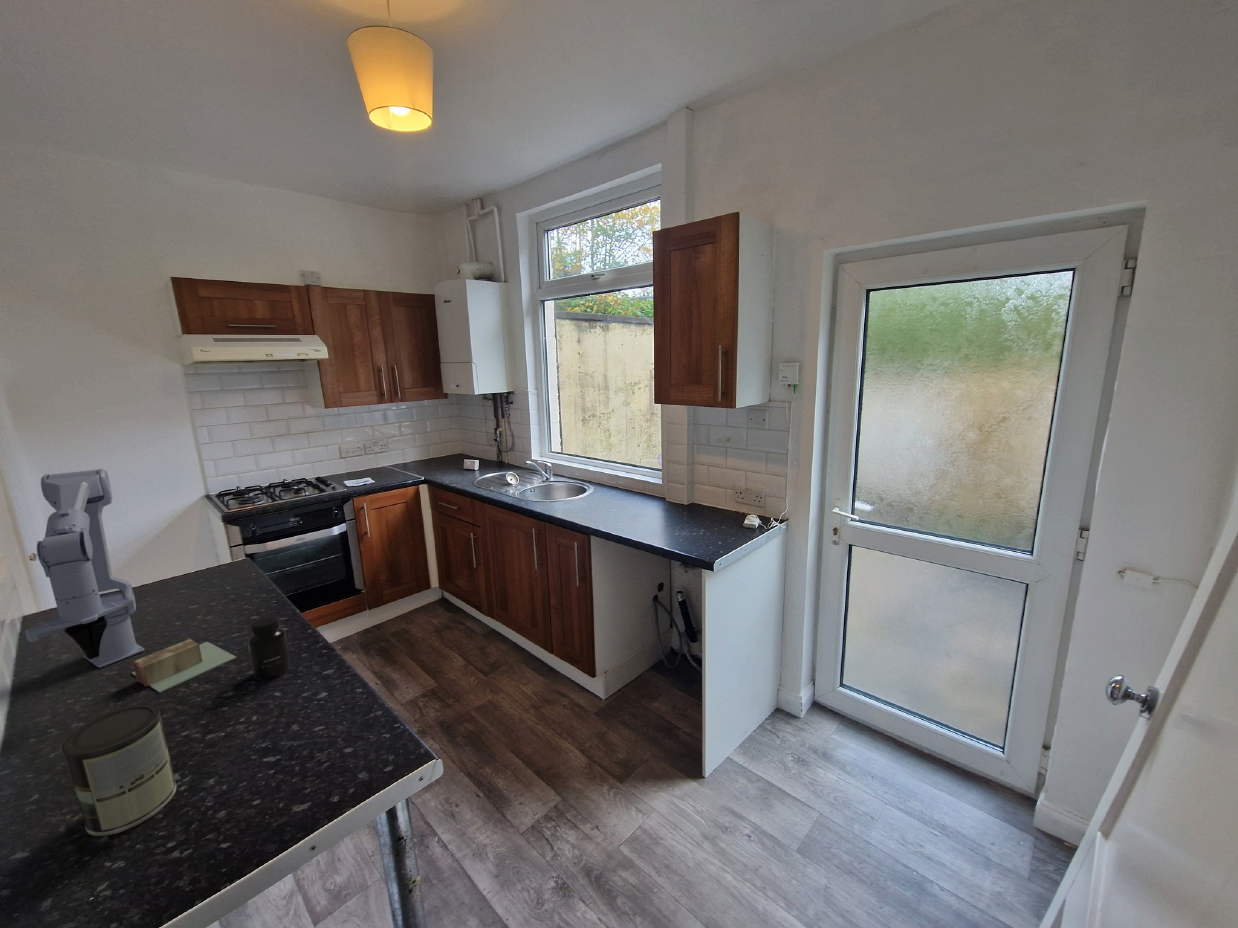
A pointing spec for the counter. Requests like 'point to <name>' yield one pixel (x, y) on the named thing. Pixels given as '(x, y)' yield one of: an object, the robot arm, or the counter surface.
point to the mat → (196, 667)
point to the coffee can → (120, 768)
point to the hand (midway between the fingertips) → (92, 656)
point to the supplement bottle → (268, 649)
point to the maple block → (167, 662)
